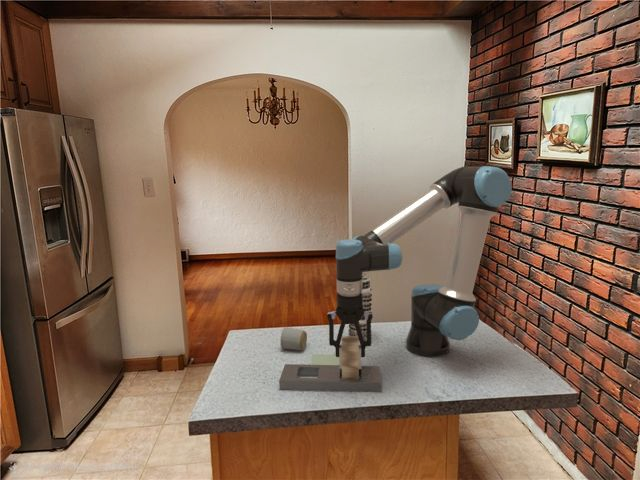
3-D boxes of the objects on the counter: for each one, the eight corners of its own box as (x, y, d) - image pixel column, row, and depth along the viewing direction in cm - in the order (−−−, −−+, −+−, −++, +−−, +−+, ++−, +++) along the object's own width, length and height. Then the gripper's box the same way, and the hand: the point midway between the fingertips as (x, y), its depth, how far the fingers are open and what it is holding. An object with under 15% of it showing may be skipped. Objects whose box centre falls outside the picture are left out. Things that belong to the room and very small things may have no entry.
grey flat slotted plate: (379, 374, 130) (379, 366, 130) (381, 392, 121) (381, 382, 120) (285, 372, 133) (284, 364, 133) (279, 389, 123) (279, 380, 123)
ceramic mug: (302, 354, 146) (301, 333, 145) (280, 352, 148) (279, 331, 147) (310, 342, 156) (310, 322, 155) (289, 340, 158) (289, 321, 157)
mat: (344, 355, 144) (344, 354, 144) (343, 371, 133) (343, 370, 133) (312, 355, 145) (312, 354, 145) (309, 371, 134) (309, 369, 134)
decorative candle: (347, 333, 162) (346, 271, 158) (371, 333, 162) (371, 271, 157) (347, 343, 153) (346, 278, 149) (373, 343, 153) (372, 278, 148)
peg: (358, 378, 129) (358, 336, 126) (358, 387, 124) (358, 343, 121) (342, 378, 129) (342, 335, 126) (342, 386, 124) (341, 342, 122)
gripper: (317, 296, 118) (319, 372, 123) (381, 297, 117) (381, 373, 121) (319, 288, 126) (321, 360, 130) (380, 289, 124) (379, 361, 128)
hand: (350, 366), depth 125 cm, fingers closed on peg, 5 cm apart
